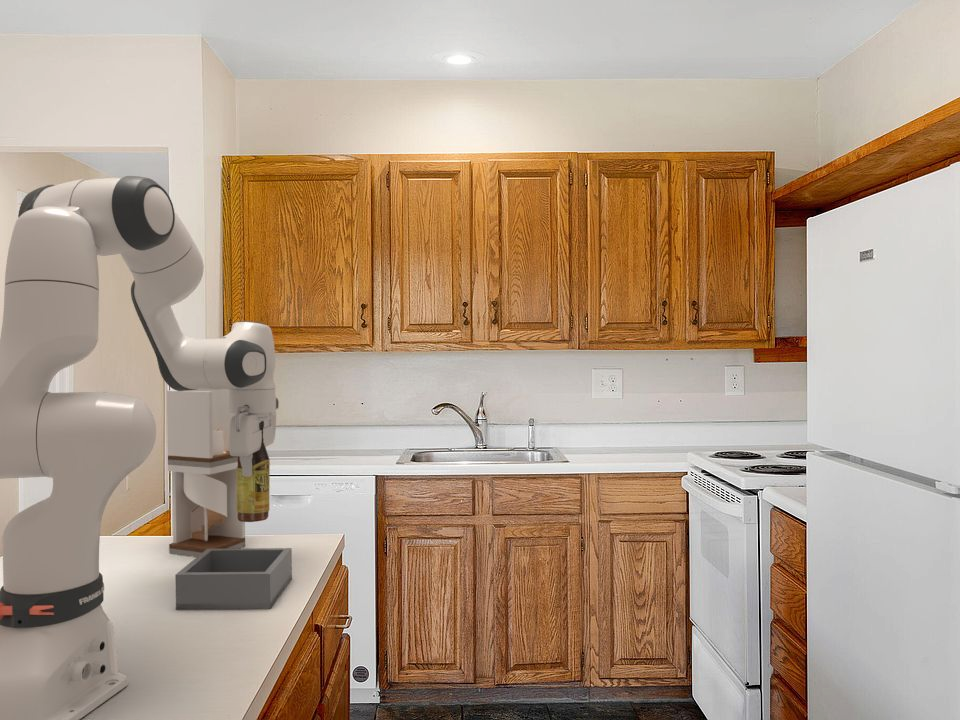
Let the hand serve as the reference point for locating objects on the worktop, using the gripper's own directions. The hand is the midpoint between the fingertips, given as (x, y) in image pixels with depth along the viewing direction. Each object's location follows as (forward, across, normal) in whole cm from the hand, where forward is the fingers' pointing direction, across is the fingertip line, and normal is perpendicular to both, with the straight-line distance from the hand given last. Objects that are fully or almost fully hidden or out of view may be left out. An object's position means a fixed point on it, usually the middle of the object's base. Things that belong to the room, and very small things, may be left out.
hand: (253, 472), depth 153 cm
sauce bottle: (+10, 0, 0) cm, 10 cm away
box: (+19, -15, -1) cm, 24 cm away
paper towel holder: (+19, +14, +14) cm, 28 cm away
